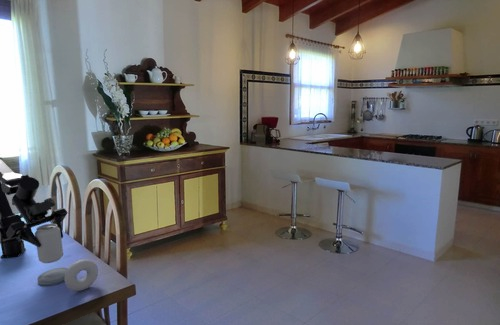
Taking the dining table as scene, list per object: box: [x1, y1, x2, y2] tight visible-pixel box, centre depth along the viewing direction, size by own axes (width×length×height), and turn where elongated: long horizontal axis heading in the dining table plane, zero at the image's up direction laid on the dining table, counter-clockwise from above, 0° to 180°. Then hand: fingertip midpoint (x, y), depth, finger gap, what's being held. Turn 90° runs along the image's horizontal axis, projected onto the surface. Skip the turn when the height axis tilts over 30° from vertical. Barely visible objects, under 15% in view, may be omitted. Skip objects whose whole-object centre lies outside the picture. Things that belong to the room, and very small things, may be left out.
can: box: [34, 223, 64, 264], centre depth 118 cm, size 8×8×12 cm
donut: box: [64, 258, 99, 292], centre depth 109 cm, size 10×4×10 cm, turn 136°
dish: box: [37, 267, 69, 287], centre depth 117 cm, size 10×10×1 cm
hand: (51, 242), depth 117 cm, fingers closed on can, 7 cm apart
